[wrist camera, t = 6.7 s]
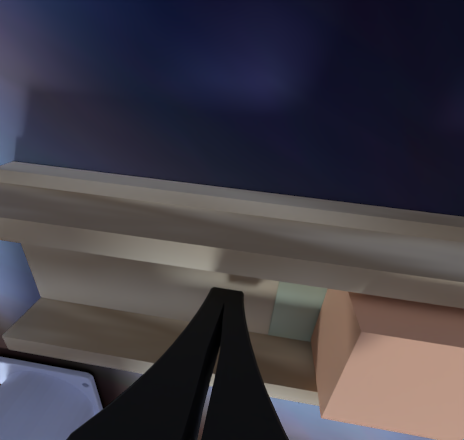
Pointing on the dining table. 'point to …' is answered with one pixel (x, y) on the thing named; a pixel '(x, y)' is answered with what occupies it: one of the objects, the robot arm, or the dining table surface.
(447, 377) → the block
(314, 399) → the chute
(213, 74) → the dining table surface
